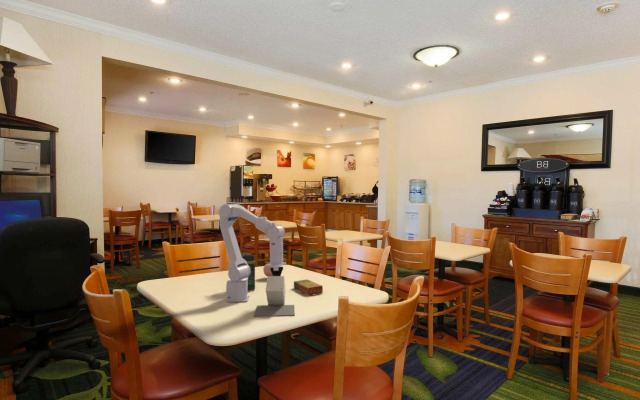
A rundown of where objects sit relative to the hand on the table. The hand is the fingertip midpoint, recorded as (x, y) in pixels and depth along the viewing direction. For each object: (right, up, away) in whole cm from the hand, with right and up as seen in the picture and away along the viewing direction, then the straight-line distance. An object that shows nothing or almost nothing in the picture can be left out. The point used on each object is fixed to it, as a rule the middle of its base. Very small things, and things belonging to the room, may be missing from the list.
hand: (277, 284), depth 158 cm
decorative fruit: (-9, -9, +49) cm, 51 cm away
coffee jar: (-19, -9, +25) cm, 33 cm away
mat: (0, -9, -8) cm, 12 cm away
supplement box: (0, -7, +2) cm, 7 cm away
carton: (+13, -10, +24) cm, 29 cm away
